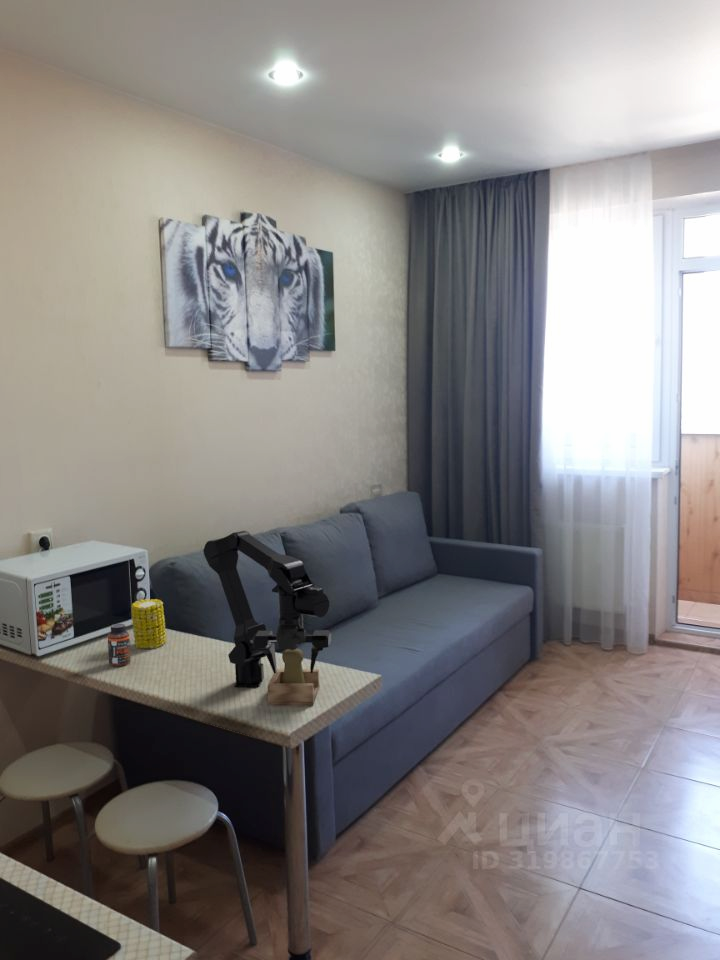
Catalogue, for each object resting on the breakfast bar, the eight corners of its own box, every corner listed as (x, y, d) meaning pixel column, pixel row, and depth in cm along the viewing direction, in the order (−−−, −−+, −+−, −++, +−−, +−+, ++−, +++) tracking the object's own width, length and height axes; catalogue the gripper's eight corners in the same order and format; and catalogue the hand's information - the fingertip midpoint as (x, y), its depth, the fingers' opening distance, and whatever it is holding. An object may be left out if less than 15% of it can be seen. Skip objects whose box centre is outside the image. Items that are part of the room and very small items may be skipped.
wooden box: (267, 705, 180) (266, 686, 179) (277, 687, 192) (276, 668, 191) (313, 705, 179) (312, 686, 179) (319, 686, 191) (318, 668, 190)
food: (168, 644, 235) (158, 657, 225) (132, 637, 235) (120, 649, 225) (176, 599, 232) (166, 609, 222) (139, 591, 232) (127, 601, 223)
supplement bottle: (118, 668, 209) (115, 629, 208) (104, 665, 213) (102, 626, 212) (135, 662, 214) (132, 624, 213) (121, 659, 218) (119, 621, 217)
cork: (311, 690, 186) (309, 647, 185) (296, 699, 181) (295, 655, 180) (291, 686, 190) (290, 644, 188) (277, 694, 184) (275, 651, 183)
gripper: (246, 620, 176) (249, 684, 178) (324, 620, 175) (326, 684, 176) (256, 608, 187) (258, 668, 189) (330, 607, 186) (332, 668, 187)
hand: (293, 672), depth 185 cm, fingers open, 9 cm apart
